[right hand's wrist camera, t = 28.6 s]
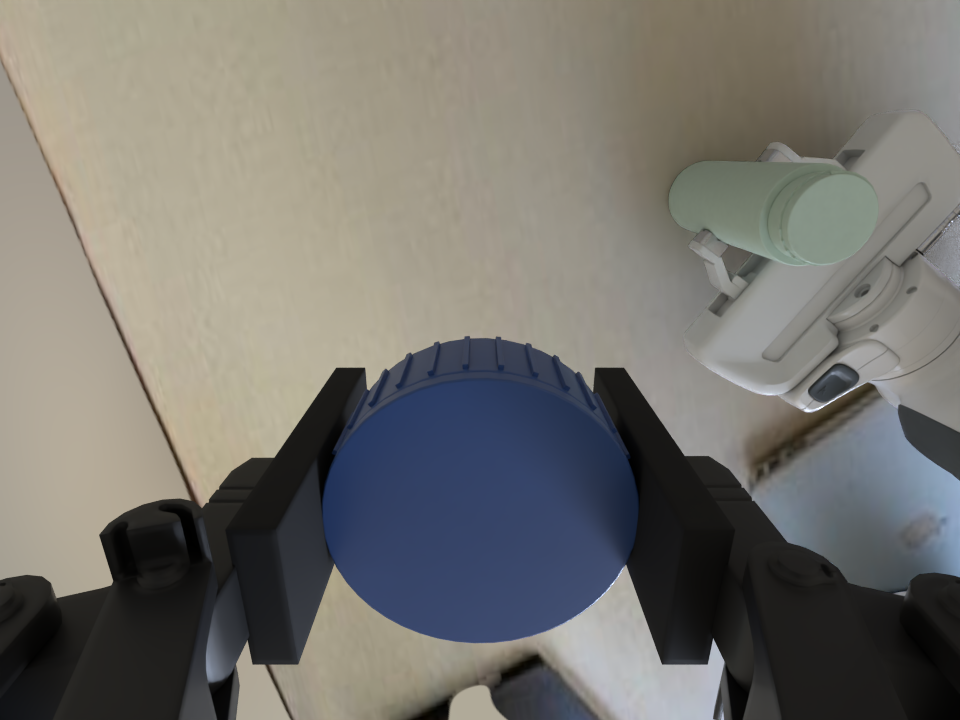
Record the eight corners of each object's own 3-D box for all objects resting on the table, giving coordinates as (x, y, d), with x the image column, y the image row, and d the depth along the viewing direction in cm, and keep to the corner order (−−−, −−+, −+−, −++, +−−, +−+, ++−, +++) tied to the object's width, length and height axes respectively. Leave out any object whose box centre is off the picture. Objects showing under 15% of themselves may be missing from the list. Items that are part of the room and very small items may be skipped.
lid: (664, 489, 13) (701, 557, 10) (450, 607, 14) (445, 687, 12) (518, 276, 11) (527, 304, 9) (288, 433, 12) (247, 491, 10)
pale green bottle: (733, 228, 43) (878, 269, 28) (666, 234, 43) (772, 278, 28) (739, 157, 41) (898, 158, 26) (669, 164, 42) (785, 168, 26)
